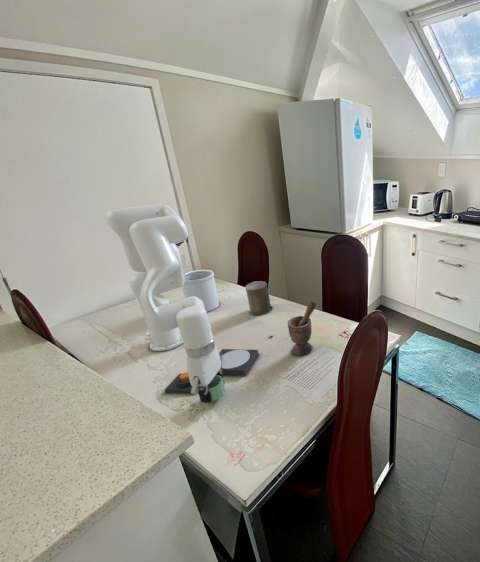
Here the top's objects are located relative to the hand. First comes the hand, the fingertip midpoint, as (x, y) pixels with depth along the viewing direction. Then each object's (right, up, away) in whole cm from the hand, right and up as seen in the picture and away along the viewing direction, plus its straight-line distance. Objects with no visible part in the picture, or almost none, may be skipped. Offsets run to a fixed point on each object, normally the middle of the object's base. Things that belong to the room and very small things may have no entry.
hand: (213, 392), depth 99 cm
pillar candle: (-5, +21, +54) cm, 58 cm away
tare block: (-12, 0, +7) cm, 14 cm away
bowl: (0, -1, 0) cm, 1 cm away
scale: (-1, +4, +16) cm, 17 cm away
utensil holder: (-34, +22, +58) cm, 71 cm away
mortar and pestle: (+24, +8, +25) cm, 36 cm away
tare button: (-12, +3, +6) cm, 14 cm away
